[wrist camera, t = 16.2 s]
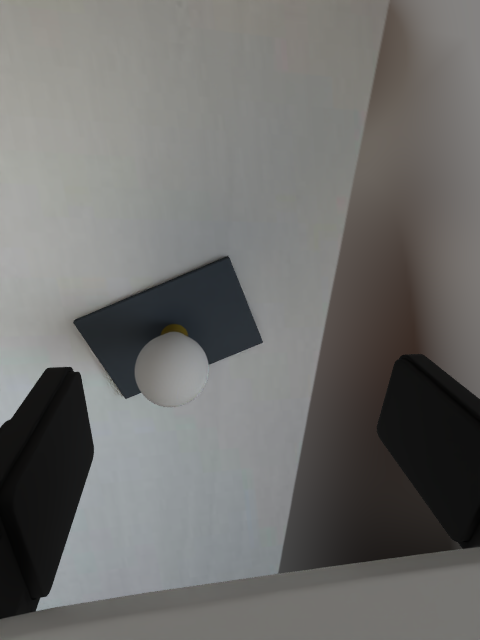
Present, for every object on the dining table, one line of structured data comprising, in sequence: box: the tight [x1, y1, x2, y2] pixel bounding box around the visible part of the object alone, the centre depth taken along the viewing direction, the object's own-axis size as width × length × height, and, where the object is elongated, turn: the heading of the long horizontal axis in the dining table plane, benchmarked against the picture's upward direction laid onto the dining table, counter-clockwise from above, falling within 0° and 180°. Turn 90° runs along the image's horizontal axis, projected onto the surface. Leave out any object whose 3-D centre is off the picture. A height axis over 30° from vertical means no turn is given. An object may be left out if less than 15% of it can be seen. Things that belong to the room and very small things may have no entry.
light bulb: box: [135, 324, 209, 407], centre depth 29 cm, size 6×6×10 cm
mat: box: [73, 256, 263, 399], centre depth 34 cm, size 16×10×1 cm, turn 111°
